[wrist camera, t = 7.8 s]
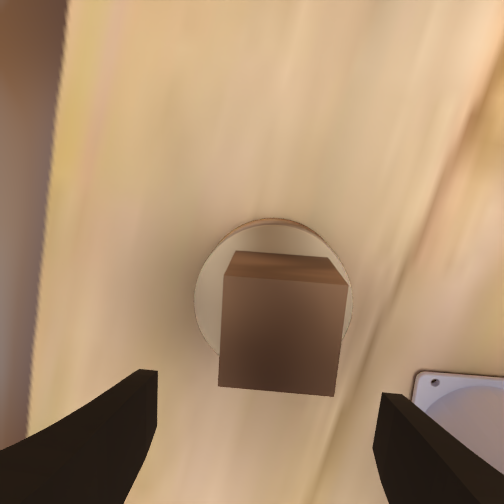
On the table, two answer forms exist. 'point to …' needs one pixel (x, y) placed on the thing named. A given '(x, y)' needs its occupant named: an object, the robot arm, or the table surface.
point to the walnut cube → (281, 323)
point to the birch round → (255, 240)
